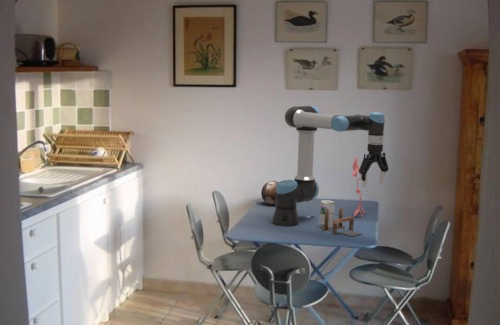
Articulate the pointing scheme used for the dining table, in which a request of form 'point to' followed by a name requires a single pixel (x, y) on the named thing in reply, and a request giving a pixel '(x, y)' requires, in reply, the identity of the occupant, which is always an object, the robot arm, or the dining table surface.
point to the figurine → (356, 168)
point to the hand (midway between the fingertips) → (373, 185)
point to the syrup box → (329, 206)
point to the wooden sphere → (269, 192)
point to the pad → (350, 233)
